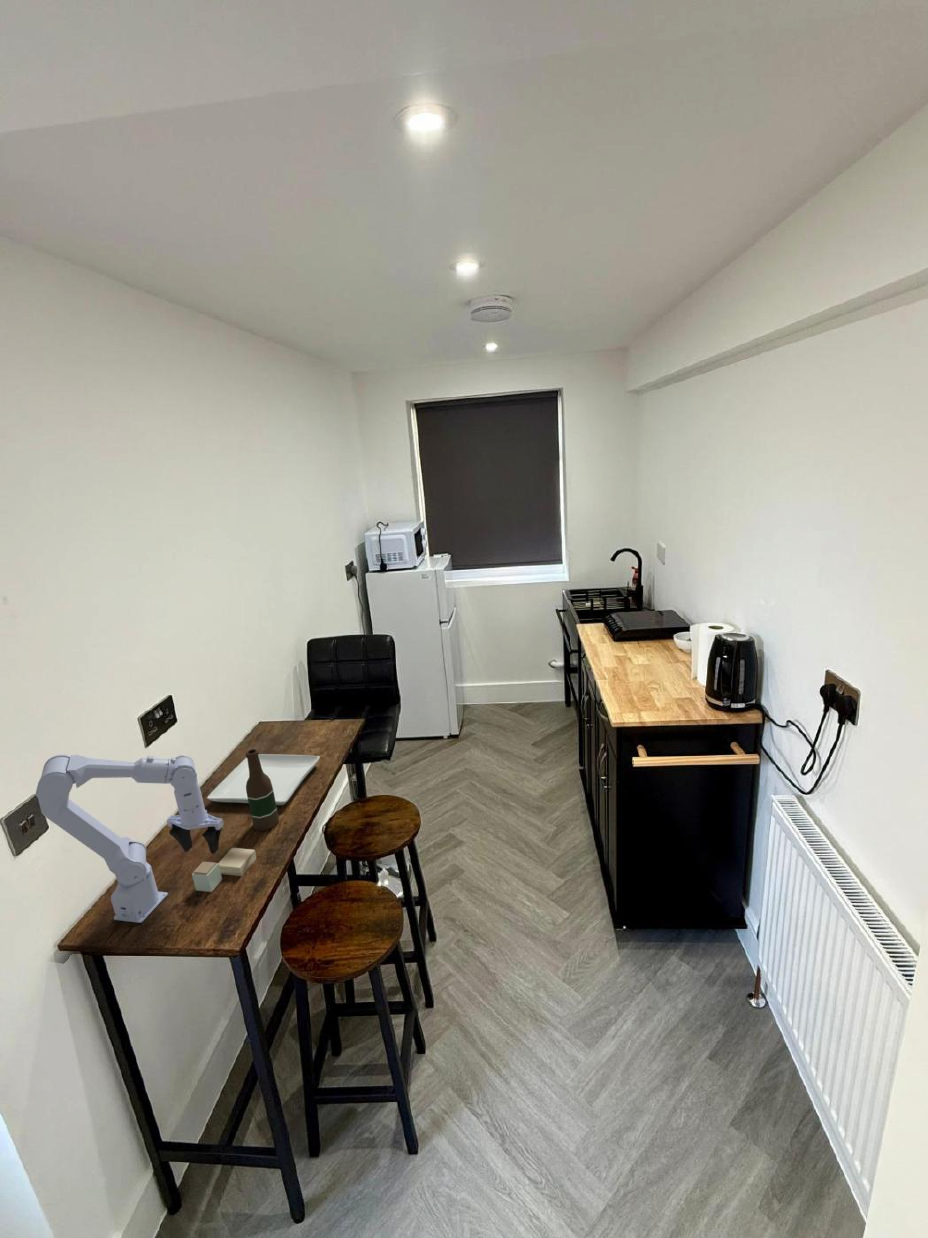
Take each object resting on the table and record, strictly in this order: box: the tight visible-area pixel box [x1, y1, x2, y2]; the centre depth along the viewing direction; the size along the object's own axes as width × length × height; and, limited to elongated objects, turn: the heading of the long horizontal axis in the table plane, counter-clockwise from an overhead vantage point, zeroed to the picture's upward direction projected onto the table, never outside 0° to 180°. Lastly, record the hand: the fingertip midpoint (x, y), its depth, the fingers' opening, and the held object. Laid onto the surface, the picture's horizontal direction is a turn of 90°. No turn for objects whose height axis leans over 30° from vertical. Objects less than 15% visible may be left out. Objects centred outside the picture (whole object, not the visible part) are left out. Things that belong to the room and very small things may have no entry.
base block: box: [217, 847, 257, 877], centre depth 157 cm, size 7×7×3 cm
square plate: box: [206, 753, 321, 806], centre depth 195 cm, size 27×27×4 cm
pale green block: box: [191, 860, 223, 893], centre depth 150 cm, size 4×4×6 cm
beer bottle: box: [245, 748, 280, 832], centre depth 171 cm, size 8×8×24 cm
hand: (201, 850), depth 149 cm, fingers open, 7 cm apart
